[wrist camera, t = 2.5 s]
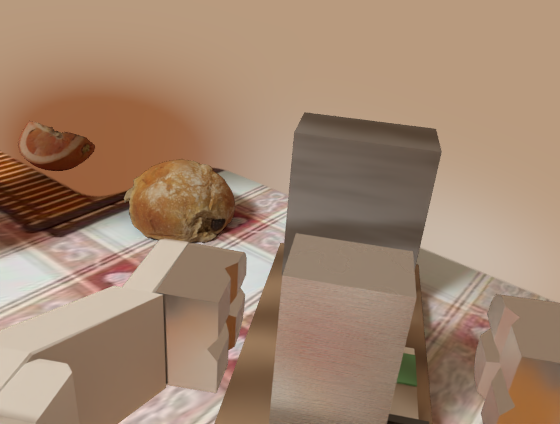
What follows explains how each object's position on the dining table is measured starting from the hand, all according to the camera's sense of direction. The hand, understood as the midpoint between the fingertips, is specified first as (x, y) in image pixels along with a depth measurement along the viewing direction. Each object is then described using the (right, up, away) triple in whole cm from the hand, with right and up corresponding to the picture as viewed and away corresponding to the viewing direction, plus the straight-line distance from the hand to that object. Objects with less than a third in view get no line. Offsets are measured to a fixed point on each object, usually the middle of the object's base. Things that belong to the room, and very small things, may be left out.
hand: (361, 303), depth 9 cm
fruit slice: (-27, +6, +52) cm, 58 cm away
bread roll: (-11, +1, +43) cm, 45 cm away
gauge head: (+3, -9, +22) cm, 24 cm away
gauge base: (+2, -8, +28) cm, 29 cm away
